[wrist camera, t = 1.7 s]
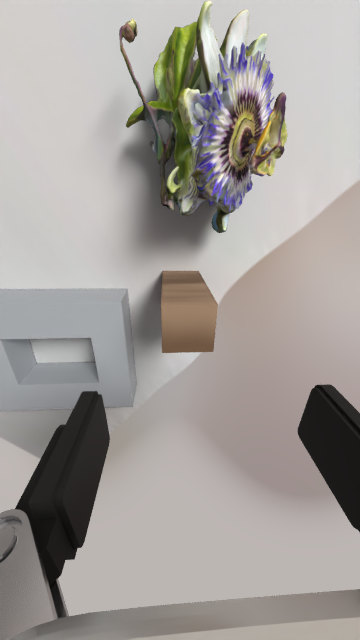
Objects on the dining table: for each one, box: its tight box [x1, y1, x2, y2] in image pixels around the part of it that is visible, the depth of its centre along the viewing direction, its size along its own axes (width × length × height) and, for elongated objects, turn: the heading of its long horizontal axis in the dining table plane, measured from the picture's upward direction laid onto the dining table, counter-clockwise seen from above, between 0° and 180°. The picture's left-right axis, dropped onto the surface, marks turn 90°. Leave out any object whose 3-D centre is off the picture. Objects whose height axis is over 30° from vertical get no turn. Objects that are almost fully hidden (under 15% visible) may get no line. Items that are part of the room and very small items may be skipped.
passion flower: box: [119, 1, 287, 233], centre depth 16 cm, size 11×11×12 cm
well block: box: [0, 289, 136, 411], centre depth 26 cm, size 14×16×4 cm
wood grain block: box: [161, 271, 218, 353], centre depth 21 cm, size 4×4×10 cm
